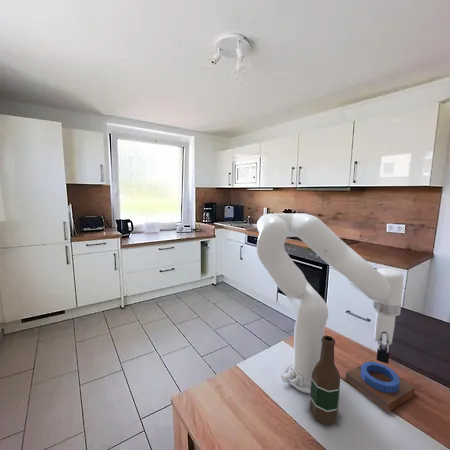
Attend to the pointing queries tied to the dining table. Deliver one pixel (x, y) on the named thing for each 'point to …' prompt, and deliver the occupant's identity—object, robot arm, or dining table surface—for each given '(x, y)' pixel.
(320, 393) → the beer bottle
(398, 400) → the platform
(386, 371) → the ring
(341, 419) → the dining table surface
